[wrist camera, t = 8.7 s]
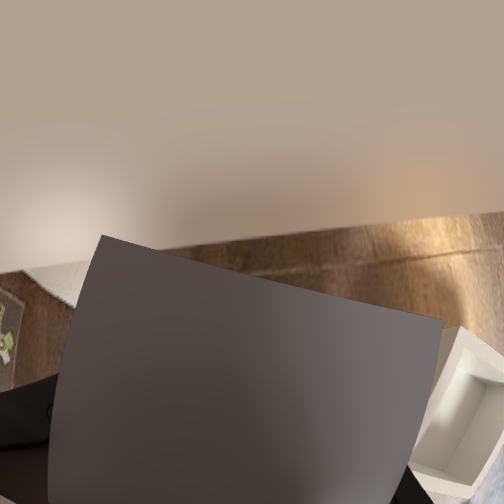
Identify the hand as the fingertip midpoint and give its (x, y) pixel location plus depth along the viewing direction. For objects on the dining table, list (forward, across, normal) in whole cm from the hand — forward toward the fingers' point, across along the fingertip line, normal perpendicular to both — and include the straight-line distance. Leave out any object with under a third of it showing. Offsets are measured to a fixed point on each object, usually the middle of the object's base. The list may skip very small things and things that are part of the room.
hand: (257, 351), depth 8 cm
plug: (+2, 0, +4) cm, 5 cm away
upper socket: (+4, -10, +7) cm, 13 cm away
